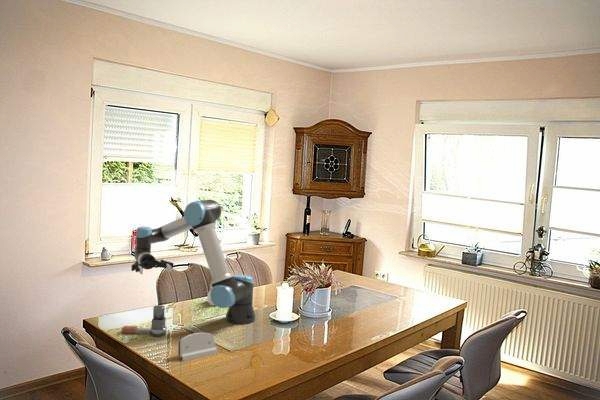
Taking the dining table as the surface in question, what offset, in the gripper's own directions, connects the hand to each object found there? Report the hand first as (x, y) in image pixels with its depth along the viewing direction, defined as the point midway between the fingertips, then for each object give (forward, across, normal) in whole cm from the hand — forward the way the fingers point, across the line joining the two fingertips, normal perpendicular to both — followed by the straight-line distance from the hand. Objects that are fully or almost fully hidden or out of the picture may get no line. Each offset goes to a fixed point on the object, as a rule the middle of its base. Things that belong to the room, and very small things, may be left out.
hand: (156, 270), depth 251 cm
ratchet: (+7, +7, -28) cm, 29 cm away
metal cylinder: (+10, +1, -25) cm, 27 cm away
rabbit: (-26, -39, -29) cm, 55 cm away
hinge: (+39, -9, -28) cm, 49 cm away
